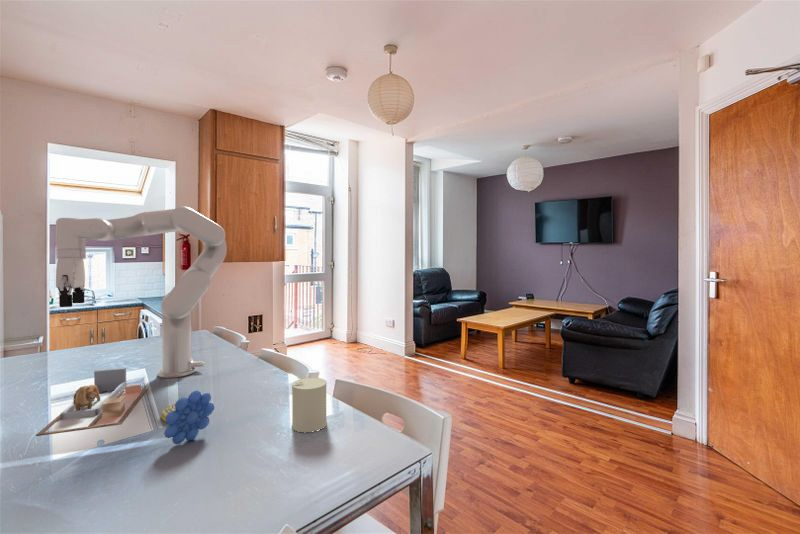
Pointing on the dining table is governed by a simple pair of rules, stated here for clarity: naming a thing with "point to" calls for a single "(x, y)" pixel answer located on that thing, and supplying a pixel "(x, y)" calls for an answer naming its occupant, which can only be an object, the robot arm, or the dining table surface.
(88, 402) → the lion figurine
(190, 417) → the grapes
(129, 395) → the broken strip
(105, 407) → the cube
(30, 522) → the dining table surface
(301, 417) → the can
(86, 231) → the robot arm
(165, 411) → the decorated donut
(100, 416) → the lane rails
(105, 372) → the grey long open box
